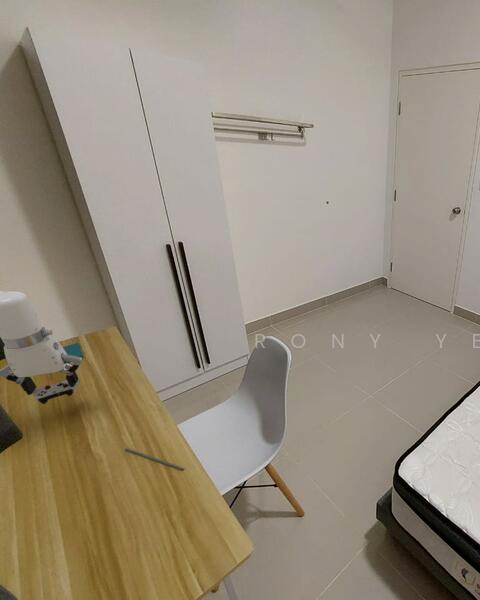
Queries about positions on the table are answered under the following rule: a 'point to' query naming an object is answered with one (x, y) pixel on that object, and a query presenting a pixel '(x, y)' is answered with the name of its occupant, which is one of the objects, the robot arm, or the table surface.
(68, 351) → the pad
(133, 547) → the table surface
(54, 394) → the game controller
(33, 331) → the robot arm
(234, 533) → the table surface
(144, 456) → the rod
